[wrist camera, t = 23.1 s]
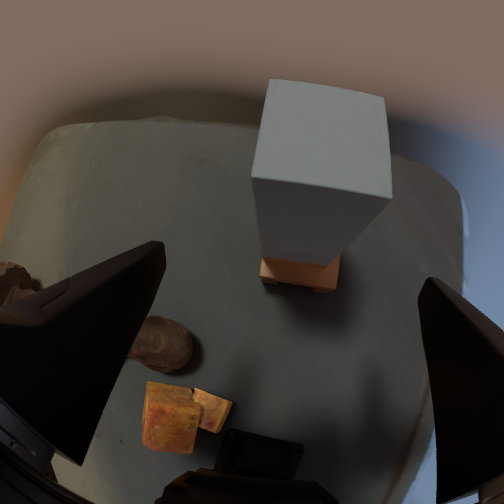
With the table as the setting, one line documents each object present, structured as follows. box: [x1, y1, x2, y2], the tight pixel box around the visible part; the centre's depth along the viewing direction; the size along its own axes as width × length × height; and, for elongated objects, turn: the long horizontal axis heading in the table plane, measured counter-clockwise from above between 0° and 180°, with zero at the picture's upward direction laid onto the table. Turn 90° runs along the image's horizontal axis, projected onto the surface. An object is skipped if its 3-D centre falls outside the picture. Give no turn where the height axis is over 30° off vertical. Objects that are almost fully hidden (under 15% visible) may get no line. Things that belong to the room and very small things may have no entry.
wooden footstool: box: [259, 254, 341, 293], centre depth 22 cm, size 9×5×3 cm, turn 169°
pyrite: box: [142, 381, 233, 454], centre depth 19 cm, size 5×7×4 cm
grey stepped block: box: [251, 79, 392, 268], centre depth 15 cm, size 8×4×12 cm, turn 171°
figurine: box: [0, 262, 193, 372], centre depth 21 cm, size 9×8×20 cm
